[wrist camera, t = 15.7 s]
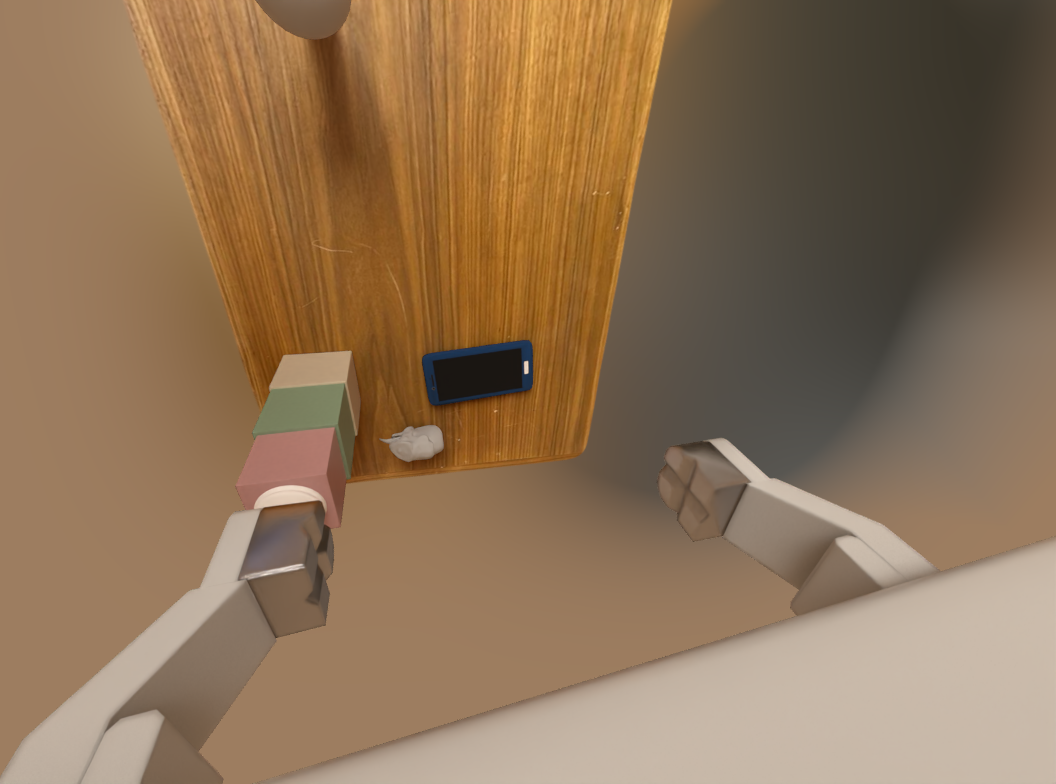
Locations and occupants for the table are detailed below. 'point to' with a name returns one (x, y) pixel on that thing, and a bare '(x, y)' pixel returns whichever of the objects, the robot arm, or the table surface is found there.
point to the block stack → (306, 431)
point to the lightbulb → (308, 16)
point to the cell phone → (478, 372)
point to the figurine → (416, 443)
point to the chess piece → (288, 496)
